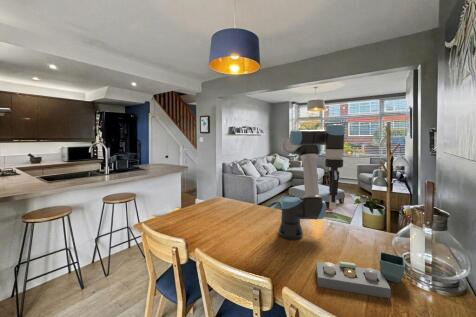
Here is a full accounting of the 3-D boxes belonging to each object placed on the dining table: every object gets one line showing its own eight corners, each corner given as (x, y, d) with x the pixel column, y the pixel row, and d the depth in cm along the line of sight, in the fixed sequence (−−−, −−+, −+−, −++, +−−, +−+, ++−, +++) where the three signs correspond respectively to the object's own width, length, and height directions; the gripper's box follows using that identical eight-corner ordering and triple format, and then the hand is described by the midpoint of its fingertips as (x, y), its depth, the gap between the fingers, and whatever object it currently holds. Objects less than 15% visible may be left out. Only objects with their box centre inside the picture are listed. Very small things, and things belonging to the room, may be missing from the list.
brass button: (344, 284, 90) (345, 273, 90) (342, 278, 94) (343, 267, 94) (356, 286, 89) (356, 275, 89) (353, 280, 93) (354, 269, 93)
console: (318, 286, 90) (318, 277, 89) (315, 269, 101) (316, 261, 101) (390, 298, 82) (390, 288, 82) (379, 278, 94) (379, 270, 94)
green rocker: (340, 267, 95) (340, 263, 95) (339, 265, 98) (339, 261, 98) (355, 270, 93) (355, 265, 94) (354, 267, 96) (354, 263, 96)
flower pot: (378, 269, 101) (379, 251, 100) (402, 276, 96) (403, 257, 95) (378, 279, 93) (379, 260, 93) (403, 287, 88) (405, 266, 88)
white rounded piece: (324, 278, 92) (324, 267, 92) (323, 272, 97) (323, 261, 96) (335, 280, 91) (335, 268, 91) (333, 273, 95) (334, 263, 95)
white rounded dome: (366, 285, 88) (366, 273, 88) (363, 278, 92) (363, 267, 92) (378, 286, 87) (379, 275, 86) (375, 280, 91) (375, 268, 91)
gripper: (346, 160, 92) (344, 213, 94) (340, 157, 104) (338, 204, 107) (327, 159, 94) (325, 212, 96) (324, 157, 106) (322, 203, 109)
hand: (332, 208), depth 101 cm, fingers closed
